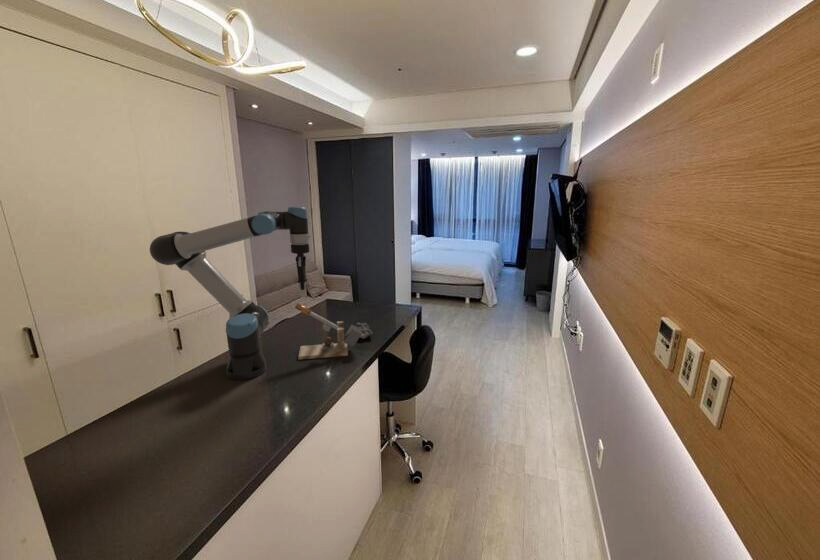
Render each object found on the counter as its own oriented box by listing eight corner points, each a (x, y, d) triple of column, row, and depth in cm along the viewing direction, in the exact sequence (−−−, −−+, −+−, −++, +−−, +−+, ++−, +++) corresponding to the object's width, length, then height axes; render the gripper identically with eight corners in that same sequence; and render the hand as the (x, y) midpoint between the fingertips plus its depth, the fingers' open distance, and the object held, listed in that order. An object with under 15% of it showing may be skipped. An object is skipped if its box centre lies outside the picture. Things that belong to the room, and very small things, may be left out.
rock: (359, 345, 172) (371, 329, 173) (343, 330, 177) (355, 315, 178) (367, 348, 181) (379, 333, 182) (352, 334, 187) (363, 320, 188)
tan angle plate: (298, 359, 154) (296, 332, 151) (300, 348, 164) (299, 323, 161) (348, 355, 158) (347, 329, 155) (347, 345, 169) (346, 320, 166)
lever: (290, 314, 151) (299, 300, 150) (292, 309, 156) (301, 296, 156) (352, 347, 160) (361, 334, 160) (352, 341, 166) (360, 329, 165)
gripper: (307, 245, 141) (311, 299, 147) (309, 241, 154) (312, 291, 160) (288, 245, 140) (292, 300, 146) (292, 241, 152) (296, 292, 158)
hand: (303, 295), depth 153 cm, fingers closed
